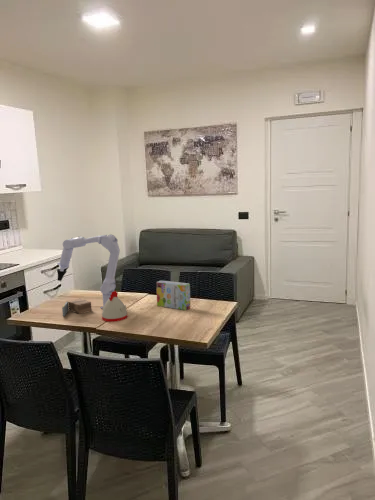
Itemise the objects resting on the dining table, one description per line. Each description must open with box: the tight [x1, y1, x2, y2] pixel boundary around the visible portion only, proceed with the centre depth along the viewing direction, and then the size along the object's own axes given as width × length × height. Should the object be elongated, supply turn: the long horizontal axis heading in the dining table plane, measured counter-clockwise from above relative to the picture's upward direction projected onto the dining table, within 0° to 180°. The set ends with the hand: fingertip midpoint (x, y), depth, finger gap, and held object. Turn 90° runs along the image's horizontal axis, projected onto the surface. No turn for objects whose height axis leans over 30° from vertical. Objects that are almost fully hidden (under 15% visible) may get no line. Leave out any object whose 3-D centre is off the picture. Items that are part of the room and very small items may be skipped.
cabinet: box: [67, 298, 92, 315], centre depth 241 cm, size 12×8×5 cm, turn 46°
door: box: [61, 301, 70, 317], centre depth 237 cm, size 13×1×6 cm, turn 6°
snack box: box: [155, 280, 191, 311], centre depth 240 cm, size 21×6×15 cm, turn 58°
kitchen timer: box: [101, 290, 128, 323], centre depth 225 cm, size 14×14×15 cm
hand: (60, 278), depth 248 cm, fingers open, 7 cm apart
